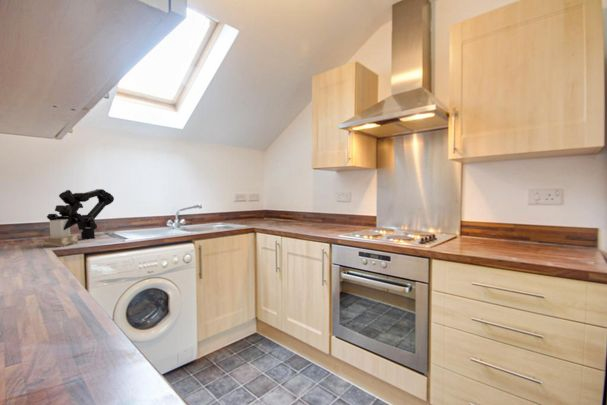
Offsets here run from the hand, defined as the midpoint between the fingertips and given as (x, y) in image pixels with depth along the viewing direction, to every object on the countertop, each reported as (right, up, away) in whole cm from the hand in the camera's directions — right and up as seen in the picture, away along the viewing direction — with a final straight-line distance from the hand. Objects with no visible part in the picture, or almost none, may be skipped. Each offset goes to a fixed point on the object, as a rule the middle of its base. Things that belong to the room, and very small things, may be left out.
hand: (58, 229), depth 169 cm
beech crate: (0, -9, +2) cm, 9 cm away
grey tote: (0, -7, +2) cm, 7 cm away
